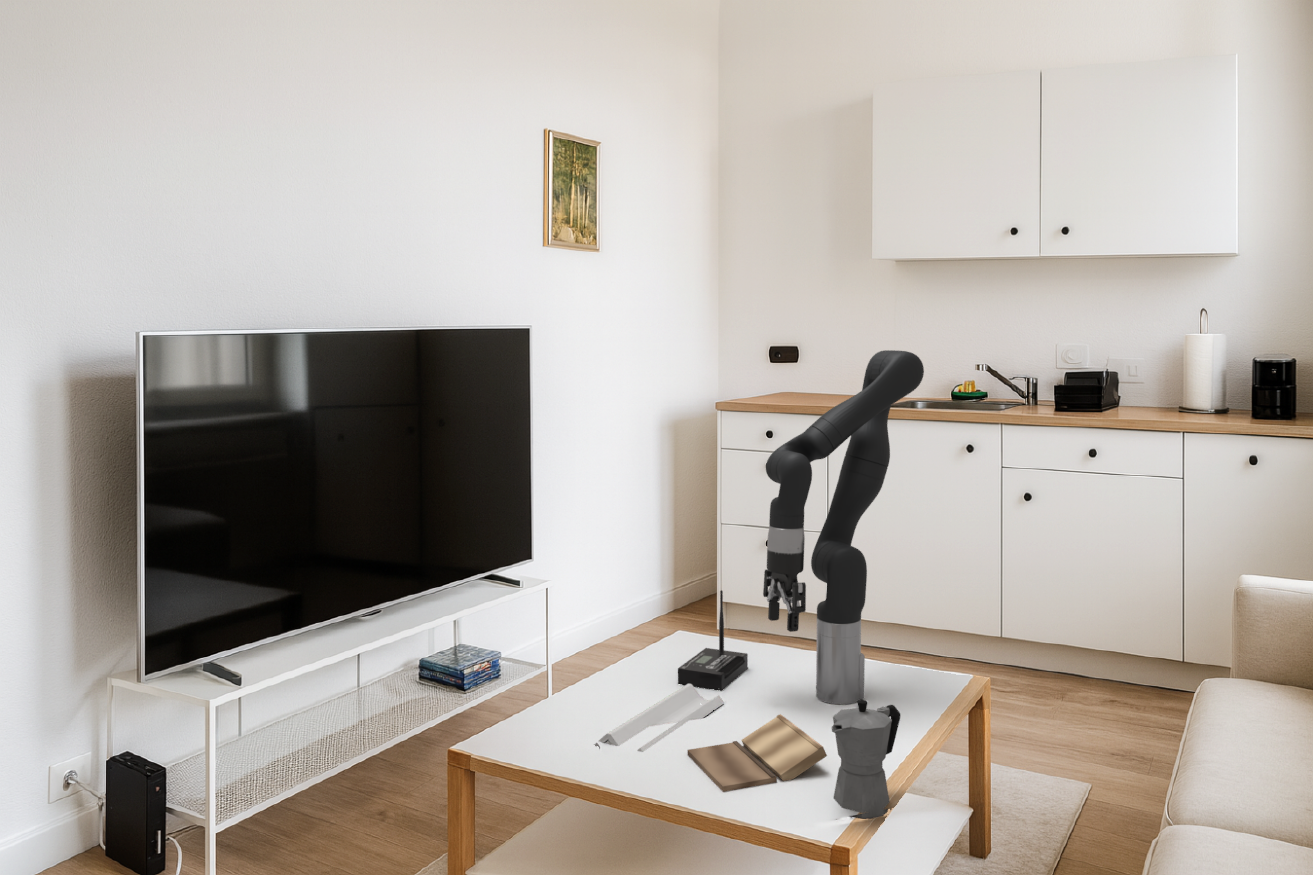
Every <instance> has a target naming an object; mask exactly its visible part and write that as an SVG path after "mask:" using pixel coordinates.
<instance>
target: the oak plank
mask: <svg viewBox="0 0 1313 875" xmlns="http://www.w3.org/2000/svg"><path fill="white" fill-rule="evenodd" d="M740 740H741V743H742V746H743V747H744V748H745V749H746V750H747V751H748V752H750V753H751V754H752V755H753V756H754V757H755V758H756V759H757V760H758V761H760V762H761V763H762V764H763V765H764V766H765V767H766V768H767V769H768V770H770V771H771V772H772V773H773V774H774V775H775V776H776V777H778V778H780V780H782V781H783V782H785V781H791V780H793V779H795V778H796V777H799V776H800V775H801V774H802V773H804V772H806V771H807V770H808V769H810V768H812V767H813V766H814V765H816V764H817V763H819V762H820V761H822V760H823V759H824V758H826V757H827V756H828V755H827V752H826V750H825V748H824V746H823V745H822V744H820V743H819V742H818V741H816V739H814V738H813V737H811V736H810V735H808V734H807V733H806V732H805V731H804V730H802V729H801V728H800V727H798V726H797V725H795V723H793V722H792V721H791V720H789V719H787V718H786V717H785V716H784V715H782V714H781V713H780V714H778V715H776V717H774V718H773V719H771V720H769V721H768V722H766V723H765V724H763V725H762V726H760V727H758V729H756V730H754V731H753V732H751V733H749V734H748V735H747V736H745V737H743V738H742V739H740Z"/></svg>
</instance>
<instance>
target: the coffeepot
mask: <svg viewBox="0 0 1313 875" xmlns="http://www.w3.org/2000/svg"><path fill="white" fill-rule="evenodd" d="M868 703H869V702H868V701H867V699H866V700H864V699H859V700H858V701H857V707H855V708H845V709H843V708H842V709H840V710H838V712H837V713H835V714H834V715H833V716H832V719H833V720H832V721H833V725H832V726H831V732H833V733H834V734H835V736H834V737H835V741H836V748H837V755H838V756H839V758H840V761H841V762H840V766H839V767H838V773H837V777H836V782H835V788H834V793H833V799H834V801H835V802H836V803H837V804H838V806H840V807H841V808H842V809H845V810H850V811H854V812H856V813H858V814H851V815H849V817H851V818H854V819H855V818H856V819H861V820H863V819H864V820H868V819H870V820H871V819H878V818H880V817H883V816H885V815H886V814H887V813H888V811H889V808H886V807H887V806H888V805H889V804H890V802H891V801H890V795H889V790H888V783H887V777H886V771H885V769H884V768H883V762H884V760H885V759H886V756H887V755H888V754H891V753H892V752H893V748H894V744H895V740H896V738H897V732H898V728H899V725H900V721H901V713H900V711H899V710H898V709H897V707H896V706H895V705H894V704H889V705H887V706H880V707H877V708H876V710H875V709H870V708H868Z"/></svg>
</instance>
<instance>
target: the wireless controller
mask: <svg viewBox="0 0 1313 875" xmlns="http://www.w3.org/2000/svg"><path fill="white" fill-rule="evenodd" d="M719 596H720V600H719V602H720V605H719V606H720V607H719V622H718V628H719V629H718V631H719V633H718V635H719V636H718V641H719V643H718V644H719V645H718V648H719V649H716V648H709V647H705V648H704V649H702V650H701V651H699V652H698V653H697V654H696V655H694V656H693V657H691V658H690V659H689V660H688V661H686V662H685V663H683V664H682V665H681V666H679V667H678V668H677V685H678V684H682V685H681V686H685V685H687V684H692V685H693V686H694V688H698V687H699V689H704V688H705V690H710V689H714V690H713V691H717V690H720V691H719V692H723V691H724V690H725V689H726V688H727V687H728V686H729V685H731V684H732V683H733V682H734V681H735V680H737V678H739V677H740V676H741V675H742V674H743V673H745V671H747V670H749V669H748V660H749V659H748V657H749V656H748V655H749V654H748V653H746V652H737V651H732V650H731V651H730V650H725V621H724V608H723V607H724V606H723V605H724V604H723V603H724V601H723V599H724V598H723V597H724V595H723V590H722V589H721V590H720V591H719ZM731 682H732V683H731ZM723 689H724V690H723ZM722 690H723V691H722Z"/></svg>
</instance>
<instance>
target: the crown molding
mask: <svg viewBox="0 0 1313 875" xmlns="http://www.w3.org/2000/svg"><path fill="white" fill-rule="evenodd" d="M700 703H701V704H702V705H700ZM724 704H725V701H724V700H723V699H722V698H721V696H720V695H719V694H717V696H716V697H714V698H713V699H706V698H704V697H702V696H701V694H700V693H699V692H698V691H697V689H696V687H694V686H693V685H692V684H687V685H682V687H680V688H679V689H677V690H676V691H673V692H672V693H671V694H669V695H668V696H666V697H664V698H663V699H661V700H659V701H657V702H656V703H654V704H653V705H651V706H649V707H648V708H646V709H644V710H643V711H641V712H639V713H637V714H636V715H634V716H633V717H631V718H630V719H628V720H627V721H625V722H623V723H621V724H620V725H617V727H615V728H613V729H612V730H611V731H609V732H607V733H605V735H603V736H602V737H601V738H600V739H599V740H598V742H595V743H594V744H593V745H595V746H594V747H597V746H598V747H599V748H600V745H599V743H600V742H601V743H605V744H608V745H612V746H617V747H620V746H621V745H623V744H624V743H626V742H628V741H629V740H631V739H633V738H634V737H635V736H637V735H639V734H640V733H641V732H643V731H644V730H646V729H648V728H649V727H655V726H663V725H668V724H674V725H672V726H670V727H668V729H666V730H665V731H663V732H661V733H660V734H659V735H657V736H655V737H654V738H653V739H651V740H649V741H648V742H646V743H645V744H643V745H642V746H640V747H639V748H638V749H637V752H638V751H639V752H642V753H644V752H645V751H647V750H649V749H650V748H651V747H652V746H654V745H656V744H657V743H659V742H660V741H661V740H662V739H665V738H666V737H667V736H669V735H670V734H672V733H674V731H676V730H677V729H679V728H680V727H682V726H683V725H685V724H686V723H688V722H690V721H696V720H702V719H703V718H704V717H706V716H707V715H709V714H711V713H712V712H714V711H715V710H716V709H718V708H719V707H721V706H722V705H724ZM713 710H714V711H713Z"/></svg>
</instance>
